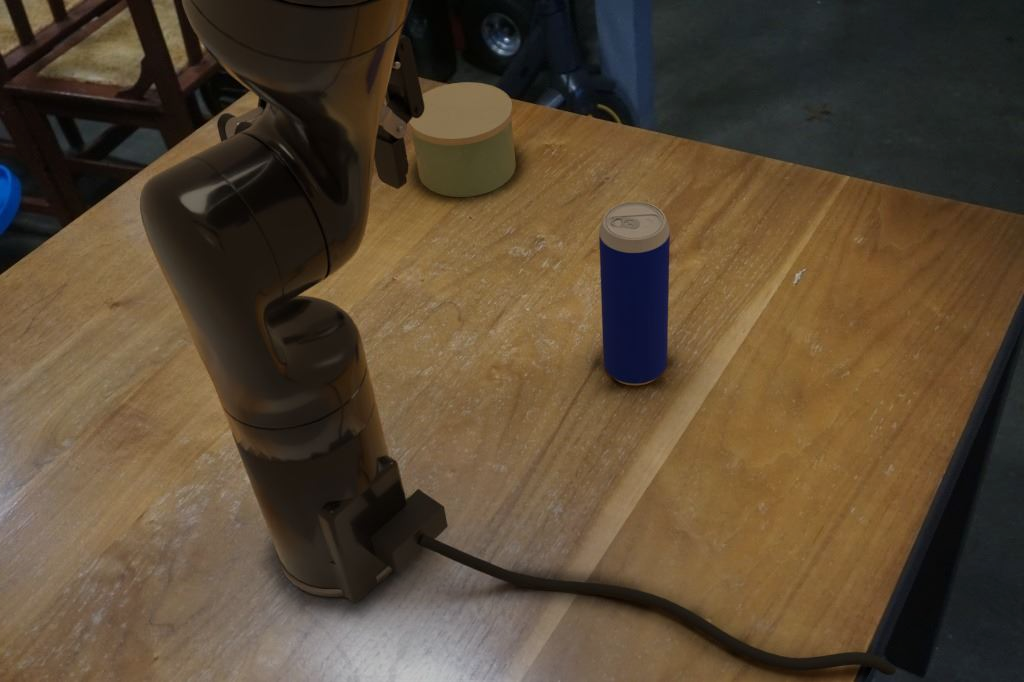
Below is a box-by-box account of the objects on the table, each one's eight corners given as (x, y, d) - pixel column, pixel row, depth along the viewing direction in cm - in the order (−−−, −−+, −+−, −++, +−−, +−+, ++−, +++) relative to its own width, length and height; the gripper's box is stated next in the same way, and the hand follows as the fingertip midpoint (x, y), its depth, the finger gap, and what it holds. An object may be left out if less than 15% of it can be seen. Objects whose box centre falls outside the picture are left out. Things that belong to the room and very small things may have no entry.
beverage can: (668, 346, 92) (671, 199, 81) (665, 390, 88) (668, 243, 78) (606, 343, 92) (601, 198, 82) (601, 387, 89) (595, 241, 78)
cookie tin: (538, 161, 113) (533, 101, 108) (470, 211, 108) (462, 150, 103) (464, 130, 118) (457, 71, 114) (396, 176, 113) (385, 117, 108)
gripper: (238, 52, 57) (305, 290, 68) (428, -50, 64) (461, 180, 75) (154, 17, 61) (230, 247, 72) (342, -75, 68) (385, 147, 79)
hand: (348, 213), depth 74 cm, fingers open, 8 cm apart
